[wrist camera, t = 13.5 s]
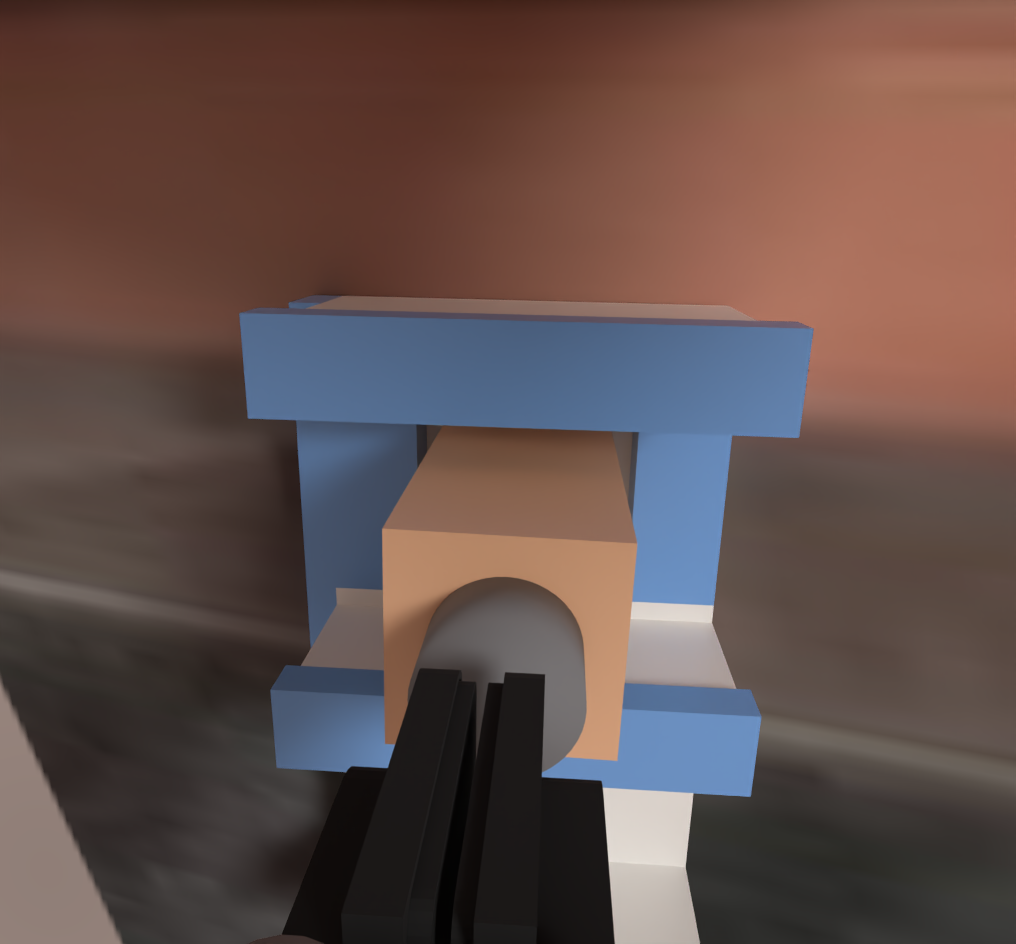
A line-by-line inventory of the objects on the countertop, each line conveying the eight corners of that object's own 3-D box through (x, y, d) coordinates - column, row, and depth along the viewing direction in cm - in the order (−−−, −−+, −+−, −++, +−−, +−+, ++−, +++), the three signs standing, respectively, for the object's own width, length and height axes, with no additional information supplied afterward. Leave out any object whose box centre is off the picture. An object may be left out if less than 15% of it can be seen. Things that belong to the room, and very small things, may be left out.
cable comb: (312, 285, 21) (207, 312, 15) (736, 295, 20) (814, 329, 14) (352, 1014, 29) (294, 1233, 22) (659, 1038, 28) (686, 1270, 22)
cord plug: (456, 403, 21) (356, 571, 11) (606, 411, 21) (647, 589, 11) (453, 543, 22) (362, 809, 12) (596, 551, 22) (623, 829, 12)
